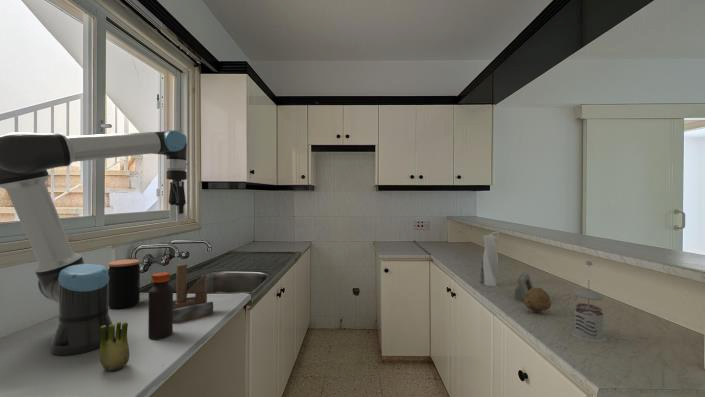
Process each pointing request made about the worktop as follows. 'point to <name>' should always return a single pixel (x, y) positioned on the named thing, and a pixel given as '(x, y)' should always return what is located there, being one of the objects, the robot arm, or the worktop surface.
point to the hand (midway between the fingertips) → (176, 220)
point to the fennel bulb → (114, 347)
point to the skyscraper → (489, 261)
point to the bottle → (160, 307)
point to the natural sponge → (537, 300)
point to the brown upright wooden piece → (181, 289)
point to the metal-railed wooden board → (192, 311)
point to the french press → (588, 317)
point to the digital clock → (523, 286)
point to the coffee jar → (124, 283)
